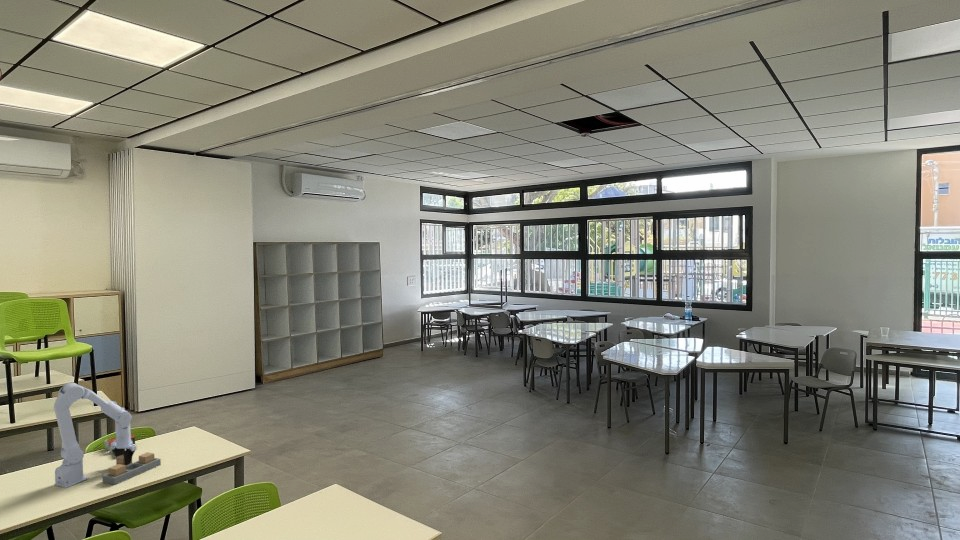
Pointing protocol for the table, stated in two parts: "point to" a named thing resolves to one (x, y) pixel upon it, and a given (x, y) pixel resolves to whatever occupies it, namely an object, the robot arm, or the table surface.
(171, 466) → the table surface
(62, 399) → the robot arm
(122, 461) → the walnut block
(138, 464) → the pocket tray
